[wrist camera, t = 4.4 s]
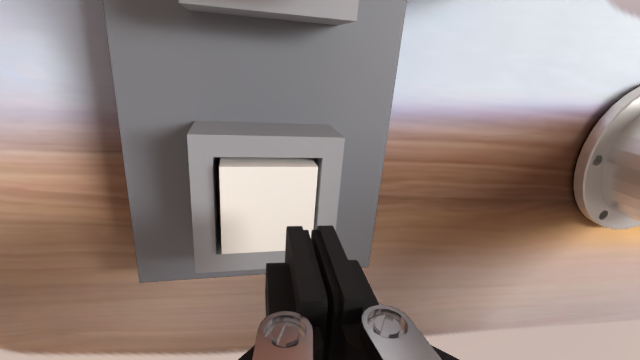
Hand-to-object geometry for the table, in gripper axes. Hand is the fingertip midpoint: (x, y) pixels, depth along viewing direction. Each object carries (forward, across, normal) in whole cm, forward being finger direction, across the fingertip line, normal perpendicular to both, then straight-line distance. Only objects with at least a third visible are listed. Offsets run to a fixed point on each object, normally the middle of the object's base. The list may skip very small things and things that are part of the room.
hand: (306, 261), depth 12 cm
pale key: (+7, +1, 0) cm, 7 cm away
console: (+11, +2, -6) cm, 12 cm away
